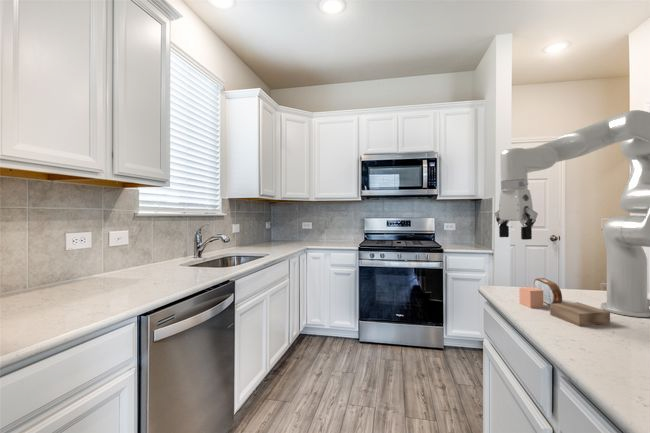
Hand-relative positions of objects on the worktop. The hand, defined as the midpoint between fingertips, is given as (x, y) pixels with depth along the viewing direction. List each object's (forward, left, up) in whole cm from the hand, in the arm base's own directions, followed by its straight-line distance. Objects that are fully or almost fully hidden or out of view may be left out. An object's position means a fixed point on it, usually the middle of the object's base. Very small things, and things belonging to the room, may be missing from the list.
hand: (514, 238), depth 101 cm
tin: (-19, -8, -25) cm, 32 cm away
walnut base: (-14, +9, -25) cm, 30 cm away
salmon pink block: (-11, -6, -25) cm, 28 cm away
